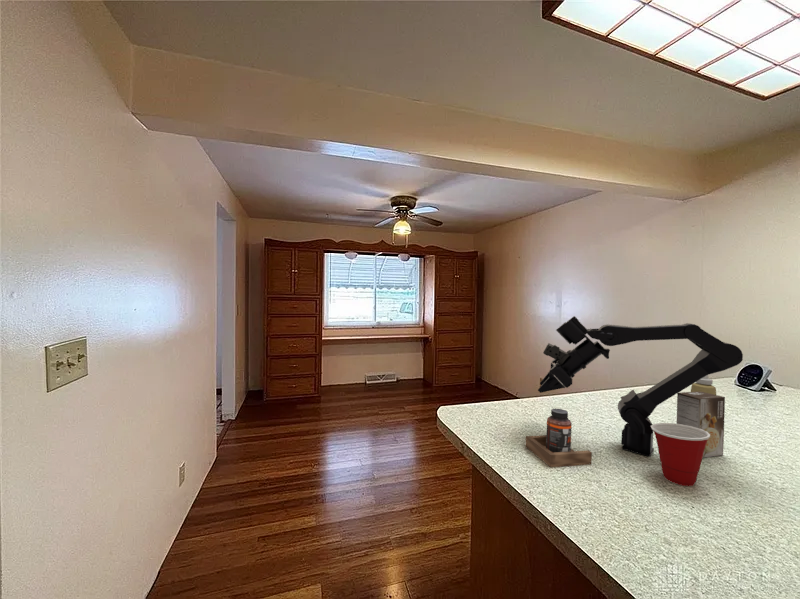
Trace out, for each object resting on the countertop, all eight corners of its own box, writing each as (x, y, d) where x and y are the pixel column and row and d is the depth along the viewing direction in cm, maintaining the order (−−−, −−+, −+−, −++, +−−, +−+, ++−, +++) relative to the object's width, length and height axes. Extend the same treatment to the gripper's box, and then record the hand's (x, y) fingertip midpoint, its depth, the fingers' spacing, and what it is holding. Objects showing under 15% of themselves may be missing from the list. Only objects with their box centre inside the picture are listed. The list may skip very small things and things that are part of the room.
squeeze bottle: (723, 423, 120) (726, 371, 120) (700, 422, 120) (702, 370, 120) (703, 415, 128) (706, 366, 128) (681, 414, 128) (683, 366, 128)
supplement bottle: (572, 460, 87) (574, 415, 87) (547, 456, 89) (548, 412, 89) (568, 450, 93) (569, 408, 93) (544, 446, 95) (545, 405, 95)
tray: (562, 444, 98) (562, 434, 98) (591, 464, 87) (591, 452, 87) (525, 446, 96) (525, 436, 96) (550, 467, 85) (551, 455, 85)
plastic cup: (650, 463, 88) (652, 416, 88) (706, 478, 81) (708, 428, 81) (647, 480, 80) (649, 428, 80) (709, 498, 73) (712, 442, 73)
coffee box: (698, 445, 100) (700, 390, 100) (724, 455, 94) (726, 397, 94) (674, 448, 98) (676, 392, 98) (699, 458, 92) (701, 398, 92)
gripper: (561, 332, 113) (524, 362, 118) (560, 338, 96) (517, 373, 101) (587, 359, 110) (548, 388, 115) (591, 370, 93) (545, 404, 98)
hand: (539, 387), depth 107 cm, fingers open, 9 cm apart
